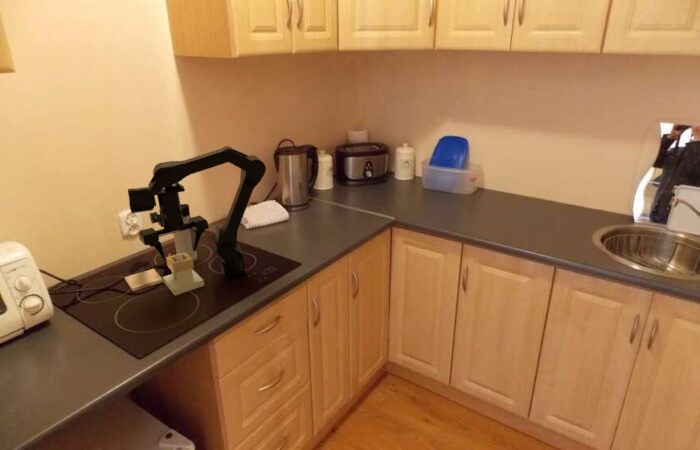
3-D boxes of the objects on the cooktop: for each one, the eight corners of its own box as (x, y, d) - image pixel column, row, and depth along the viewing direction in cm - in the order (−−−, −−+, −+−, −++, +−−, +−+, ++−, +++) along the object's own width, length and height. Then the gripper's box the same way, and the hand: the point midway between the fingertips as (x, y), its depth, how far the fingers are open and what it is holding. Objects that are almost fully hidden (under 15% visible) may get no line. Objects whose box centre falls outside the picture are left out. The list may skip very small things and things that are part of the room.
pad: (154, 271, 151) (153, 268, 151) (163, 281, 144) (162, 279, 144) (124, 280, 146) (124, 277, 146) (132, 291, 139) (132, 288, 139)
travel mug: (190, 265, 154) (181, 209, 146) (174, 263, 156) (164, 207, 148) (202, 257, 160) (193, 203, 152) (185, 255, 162) (176, 201, 154)
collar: (186, 260, 145) (185, 251, 143) (194, 267, 140) (192, 258, 139) (167, 266, 141) (165, 257, 140) (174, 273, 137) (172, 264, 136)
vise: (192, 273, 149) (187, 245, 145) (204, 285, 142) (199, 256, 138) (163, 282, 144) (158, 253, 140) (174, 295, 137) (169, 265, 133)
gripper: (191, 193, 144) (198, 238, 150) (128, 207, 134) (139, 255, 140) (205, 202, 136) (212, 250, 142) (139, 218, 126) (150, 269, 132)
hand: (179, 255), depth 139 cm, fingers open, 9 cm apart
